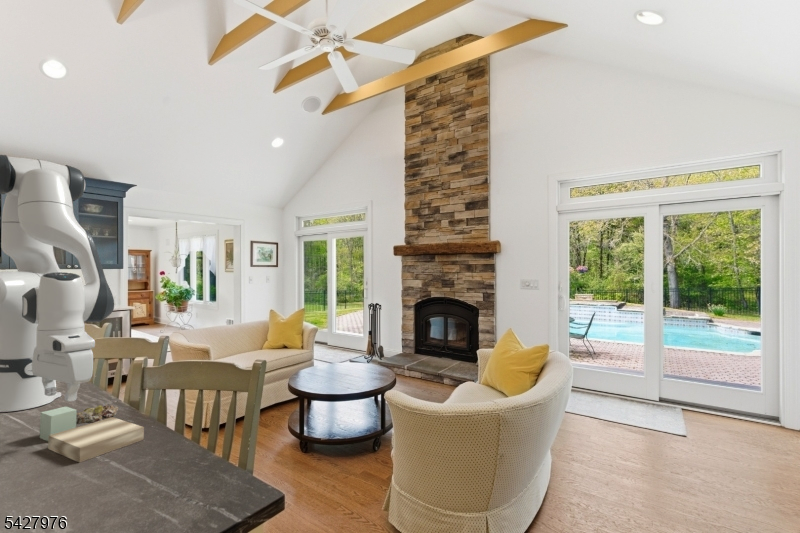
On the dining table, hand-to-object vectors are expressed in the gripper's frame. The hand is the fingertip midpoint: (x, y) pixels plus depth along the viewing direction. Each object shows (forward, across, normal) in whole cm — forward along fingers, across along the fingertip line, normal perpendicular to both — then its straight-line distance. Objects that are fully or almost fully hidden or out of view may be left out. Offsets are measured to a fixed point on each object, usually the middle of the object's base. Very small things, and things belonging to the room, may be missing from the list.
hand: (60, 397), depth 95 cm
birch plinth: (+10, +12, +2) cm, 16 cm away
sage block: (+9, -1, 0) cm, 9 cm away
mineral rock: (+10, -6, +10) cm, 16 cm away
